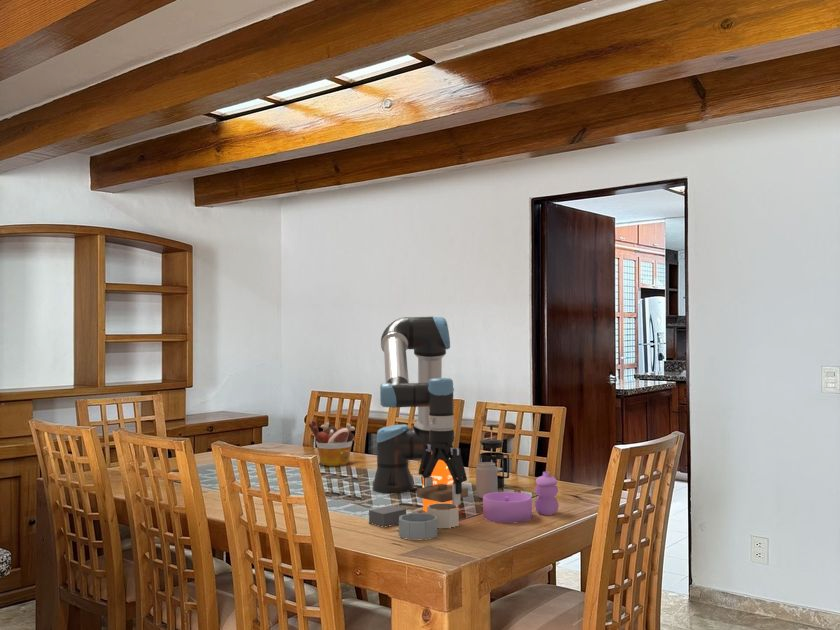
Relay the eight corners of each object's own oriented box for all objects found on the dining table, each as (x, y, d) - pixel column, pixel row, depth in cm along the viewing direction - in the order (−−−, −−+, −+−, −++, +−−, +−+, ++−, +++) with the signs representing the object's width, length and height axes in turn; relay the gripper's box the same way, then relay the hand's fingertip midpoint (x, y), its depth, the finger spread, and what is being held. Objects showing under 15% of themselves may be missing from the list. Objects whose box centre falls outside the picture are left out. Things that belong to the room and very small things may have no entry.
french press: (480, 489, 285) (480, 426, 285) (475, 484, 294) (474, 423, 294) (512, 488, 287) (511, 425, 287) (505, 482, 296) (504, 422, 296)
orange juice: (446, 515, 247) (445, 452, 247) (422, 511, 252) (421, 450, 252) (458, 509, 254) (457, 448, 254) (435, 506, 258) (434, 446, 259)
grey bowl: (391, 535, 224) (391, 517, 224) (419, 527, 232) (419, 511, 232) (417, 542, 216) (417, 524, 216) (445, 534, 224) (445, 517, 224)
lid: (416, 497, 235) (416, 485, 235) (442, 491, 243) (442, 480, 243) (442, 502, 227) (442, 490, 227) (467, 496, 235) (467, 485, 235)
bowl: (420, 524, 235) (420, 506, 235) (442, 519, 242) (442, 501, 242) (442, 530, 228) (442, 511, 228) (465, 524, 235) (464, 506, 235)
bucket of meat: (351, 459, 352) (351, 416, 352) (359, 466, 336) (358, 420, 336) (307, 462, 346) (307, 418, 346) (313, 469, 330) (312, 422, 331)
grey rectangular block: (369, 523, 238) (368, 510, 238) (391, 518, 244) (390, 505, 244) (384, 527, 233) (383, 514, 233) (406, 521, 239) (405, 508, 239)
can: (496, 500, 267) (496, 465, 267) (475, 499, 268) (474, 464, 269) (498, 495, 274) (498, 461, 274) (477, 494, 276) (477, 461, 276)
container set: (494, 525, 234) (494, 481, 234) (476, 513, 249) (475, 472, 249) (568, 518, 242) (568, 475, 242) (546, 507, 256) (545, 467, 256)
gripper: (406, 427, 241) (407, 497, 241) (461, 433, 224) (462, 509, 224) (423, 424, 247) (424, 494, 246) (478, 431, 229) (479, 505, 229)
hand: (442, 501), depth 235 cm, fingers closed on lid, 11 cm apart
